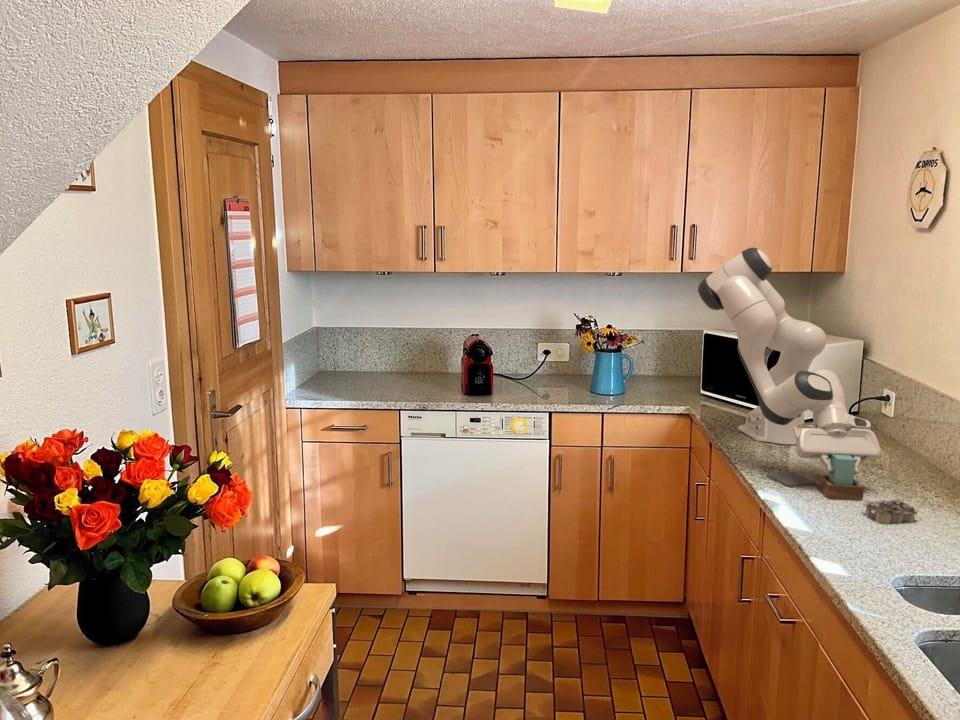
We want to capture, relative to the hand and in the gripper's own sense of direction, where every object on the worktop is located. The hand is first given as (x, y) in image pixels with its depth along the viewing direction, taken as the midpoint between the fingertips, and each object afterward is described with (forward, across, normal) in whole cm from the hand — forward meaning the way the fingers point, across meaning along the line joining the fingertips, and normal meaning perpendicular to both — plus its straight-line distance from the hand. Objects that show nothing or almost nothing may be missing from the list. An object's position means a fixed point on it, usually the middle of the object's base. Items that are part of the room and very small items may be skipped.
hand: (842, 473), depth 196 cm
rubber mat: (-3, -9, +11) cm, 15 cm away
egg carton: (+15, +6, -6) cm, 17 cm away
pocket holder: (+4, 0, +5) cm, 6 cm away
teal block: (+4, 0, +5) cm, 6 cm away
